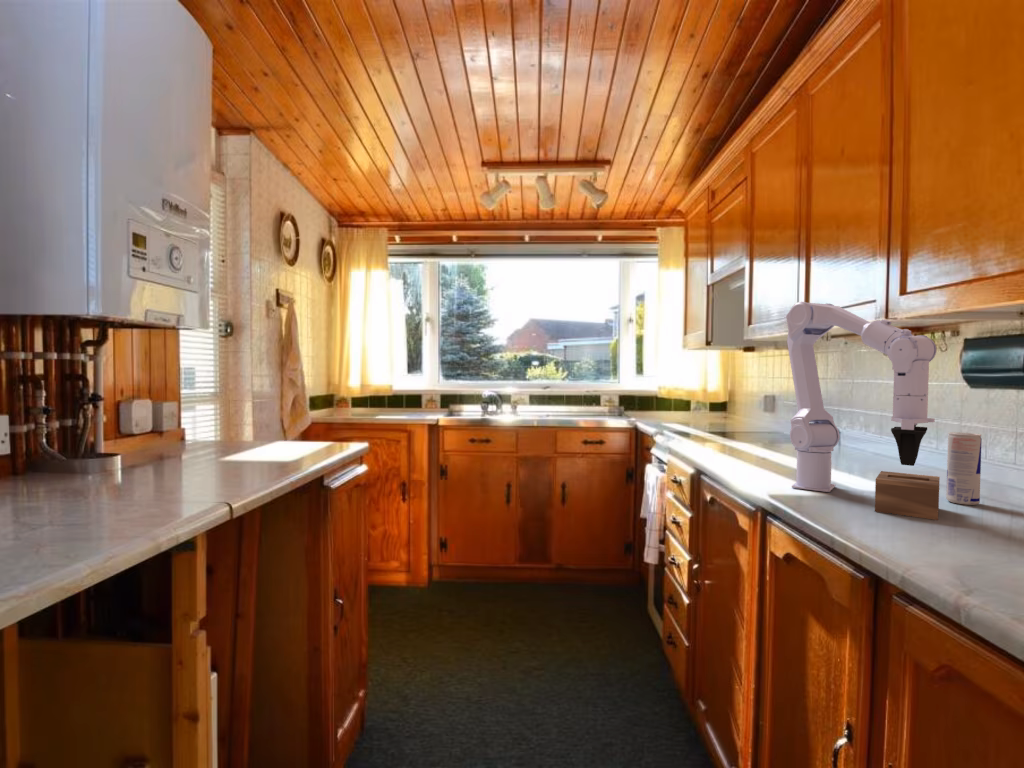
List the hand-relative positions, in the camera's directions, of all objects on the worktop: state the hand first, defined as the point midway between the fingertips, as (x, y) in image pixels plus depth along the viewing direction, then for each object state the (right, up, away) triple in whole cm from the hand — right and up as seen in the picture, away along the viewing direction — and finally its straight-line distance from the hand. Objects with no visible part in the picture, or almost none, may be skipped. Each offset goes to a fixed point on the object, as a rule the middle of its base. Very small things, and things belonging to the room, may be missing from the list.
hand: (908, 463), depth 114 cm
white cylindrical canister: (+17, -10, +7) cm, 21 cm away
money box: (0, -9, 0) cm, 9 cm away
